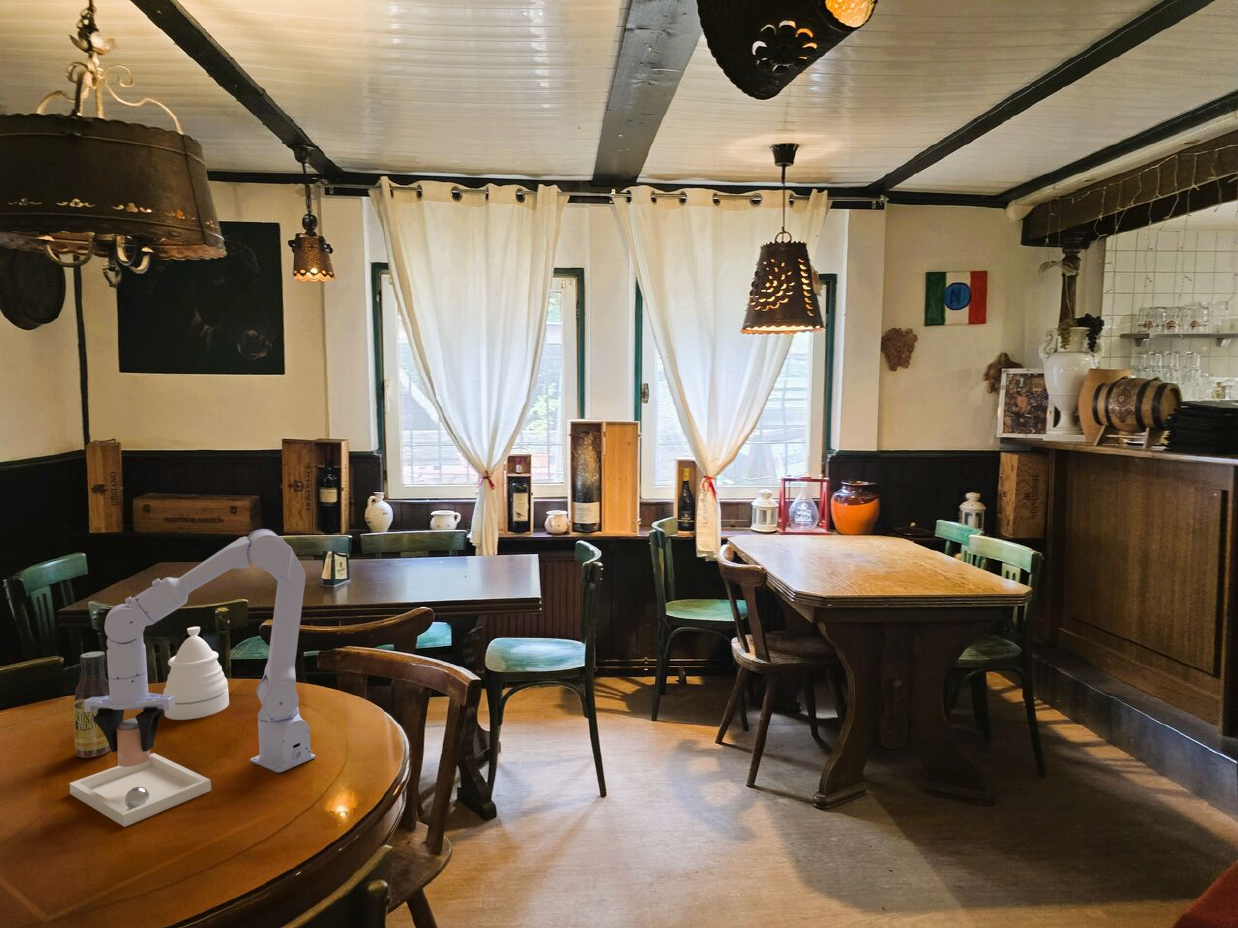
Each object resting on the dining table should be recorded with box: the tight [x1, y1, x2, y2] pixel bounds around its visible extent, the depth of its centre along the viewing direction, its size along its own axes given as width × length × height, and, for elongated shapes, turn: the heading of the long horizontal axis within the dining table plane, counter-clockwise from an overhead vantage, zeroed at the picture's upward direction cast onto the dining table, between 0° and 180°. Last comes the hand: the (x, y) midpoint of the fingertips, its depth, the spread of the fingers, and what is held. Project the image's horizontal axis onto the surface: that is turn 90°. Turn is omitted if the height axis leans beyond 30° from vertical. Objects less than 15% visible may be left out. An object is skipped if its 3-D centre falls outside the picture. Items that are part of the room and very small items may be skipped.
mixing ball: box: [125, 787, 149, 809], centre depth 130 cm, size 4×4×4 cm
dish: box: [69, 752, 212, 828], centre depth 136 cm, size 20×14×2 cm
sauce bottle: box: [73, 651, 111, 759], centre depth 153 cm, size 6×6×20 cm
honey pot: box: [162, 626, 230, 721], centre depth 175 cm, size 13×13×18 cm
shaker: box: [117, 717, 151, 767], centre depth 137 cm, size 5×5×7 cm
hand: (132, 749), depth 137 cm, fingers closed on shaker, 5 cm apart
